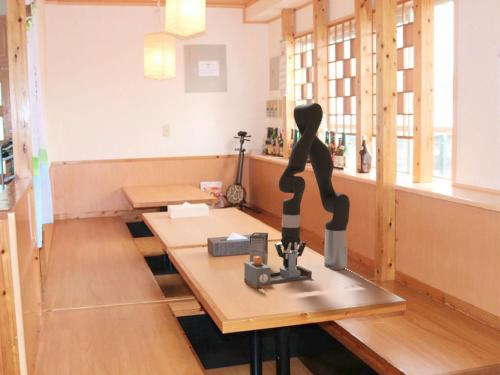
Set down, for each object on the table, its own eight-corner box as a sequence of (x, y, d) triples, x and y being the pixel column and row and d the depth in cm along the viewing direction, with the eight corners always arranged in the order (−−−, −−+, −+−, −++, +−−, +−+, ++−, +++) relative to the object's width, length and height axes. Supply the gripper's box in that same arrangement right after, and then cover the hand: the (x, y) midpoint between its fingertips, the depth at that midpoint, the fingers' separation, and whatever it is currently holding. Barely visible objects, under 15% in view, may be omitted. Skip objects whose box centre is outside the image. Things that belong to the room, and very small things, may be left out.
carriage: (290, 273, 267) (291, 250, 265) (300, 278, 260) (300, 254, 258) (279, 275, 265) (280, 251, 263) (289, 279, 257) (289, 255, 256)
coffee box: (253, 268, 282) (253, 231, 280) (267, 268, 281) (268, 232, 279) (249, 273, 273) (249, 235, 271) (263, 274, 272) (264, 236, 270)
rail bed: (298, 275, 270) (298, 265, 270) (312, 282, 260) (312, 271, 260) (244, 282, 260) (244, 271, 259) (256, 289, 250) (256, 277, 249)
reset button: (259, 263, 257) (259, 255, 257) (262, 265, 254) (263, 257, 254) (252, 263, 256) (252, 256, 255) (255, 265, 253) (255, 258, 252)
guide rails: (295, 272, 269) (295, 270, 269) (308, 279, 260) (308, 276, 260) (258, 277, 262) (258, 274, 262) (270, 283, 252) (270, 280, 252)
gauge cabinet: (257, 276, 262) (258, 261, 261) (270, 284, 252) (271, 267, 251) (244, 278, 259) (244, 262, 259) (256, 285, 249) (257, 269, 248)
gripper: (301, 222, 266) (300, 263, 268) (271, 224, 260) (270, 266, 262) (310, 225, 259) (309, 267, 261) (280, 227, 253) (279, 271, 255)
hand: (289, 266), depth 261 cm, fingers closed on carriage, 3 cm apart
